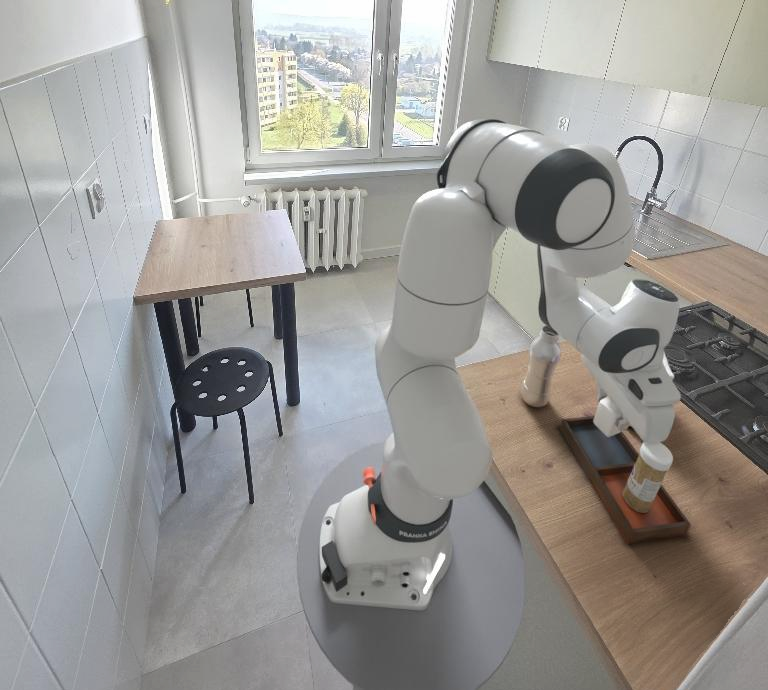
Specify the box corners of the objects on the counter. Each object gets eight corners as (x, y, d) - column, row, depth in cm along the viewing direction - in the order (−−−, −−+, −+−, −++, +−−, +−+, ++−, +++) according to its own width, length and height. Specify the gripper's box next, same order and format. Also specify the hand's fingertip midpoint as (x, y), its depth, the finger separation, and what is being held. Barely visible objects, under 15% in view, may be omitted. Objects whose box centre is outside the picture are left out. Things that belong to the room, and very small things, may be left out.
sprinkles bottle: (619, 485, 78) (639, 435, 73) (646, 492, 77) (668, 442, 72) (624, 509, 74) (646, 458, 69) (653, 518, 73) (677, 467, 68)
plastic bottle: (513, 398, 97) (528, 329, 89) (528, 383, 101) (544, 317, 93) (538, 416, 93) (557, 346, 85) (553, 400, 97) (572, 331, 89)
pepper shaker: (622, 432, 82) (635, 397, 78) (607, 439, 81) (620, 403, 77) (605, 416, 85) (617, 381, 82) (591, 422, 84) (602, 387, 80)
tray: (627, 543, 70) (632, 533, 69) (559, 428, 90) (562, 419, 89) (685, 535, 72) (691, 524, 70) (605, 424, 91) (609, 414, 90)
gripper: (581, 324, 85) (567, 375, 91) (654, 408, 66) (631, 466, 72) (610, 322, 86) (594, 373, 91) (689, 404, 67) (664, 462, 73)
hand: (611, 415), depth 82 cm, fingers closed on pepper shaker, 4 cm apart
